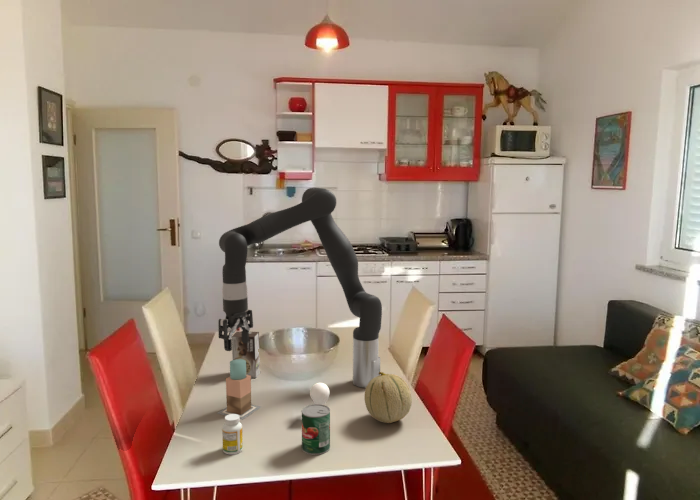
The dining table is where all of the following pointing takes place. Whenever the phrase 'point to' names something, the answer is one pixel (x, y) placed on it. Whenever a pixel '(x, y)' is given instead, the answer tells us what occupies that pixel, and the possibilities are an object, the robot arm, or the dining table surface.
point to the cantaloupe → (388, 398)
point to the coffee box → (247, 352)
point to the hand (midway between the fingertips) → (237, 346)
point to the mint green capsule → (238, 369)
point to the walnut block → (238, 404)
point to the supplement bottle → (232, 434)
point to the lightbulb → (319, 393)
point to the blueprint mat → (244, 415)
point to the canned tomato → (315, 429)
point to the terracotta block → (238, 387)
